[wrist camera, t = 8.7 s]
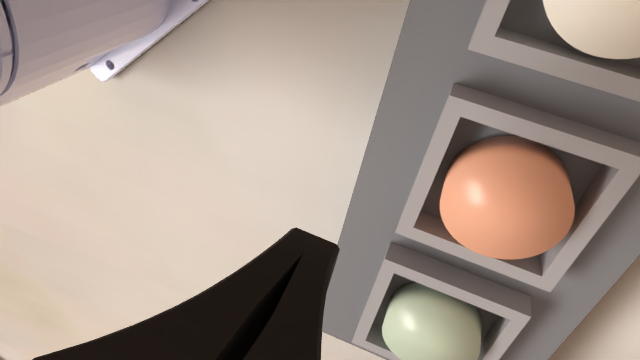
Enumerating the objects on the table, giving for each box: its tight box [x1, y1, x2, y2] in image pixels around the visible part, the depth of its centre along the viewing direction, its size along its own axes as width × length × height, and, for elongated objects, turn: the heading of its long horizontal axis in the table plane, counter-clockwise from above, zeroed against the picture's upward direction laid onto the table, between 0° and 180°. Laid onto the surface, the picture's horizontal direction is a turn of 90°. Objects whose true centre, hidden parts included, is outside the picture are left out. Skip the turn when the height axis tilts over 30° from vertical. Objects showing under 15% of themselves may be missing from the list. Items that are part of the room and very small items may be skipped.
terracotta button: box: [440, 136, 575, 260], centre depth 17 cm, size 4×4×2 cm
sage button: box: [382, 283, 482, 360], centre depth 21 cm, size 4×4×2 cm
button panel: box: [322, 0, 640, 360], centre depth 18 cm, size 26×11×4 cm, turn 169°
